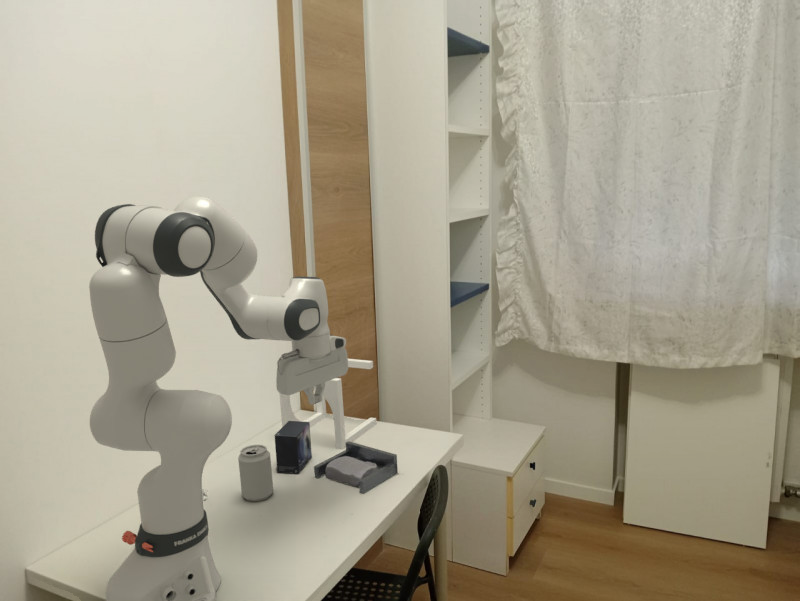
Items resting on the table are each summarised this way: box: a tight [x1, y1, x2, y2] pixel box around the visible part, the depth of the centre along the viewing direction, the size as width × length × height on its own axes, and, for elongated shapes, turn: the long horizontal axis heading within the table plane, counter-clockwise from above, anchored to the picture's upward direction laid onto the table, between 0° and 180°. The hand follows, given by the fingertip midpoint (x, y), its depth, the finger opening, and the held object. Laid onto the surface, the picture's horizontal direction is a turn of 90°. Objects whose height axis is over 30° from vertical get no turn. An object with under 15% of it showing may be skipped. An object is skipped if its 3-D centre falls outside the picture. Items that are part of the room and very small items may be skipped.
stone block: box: [325, 456, 378, 488], centre depth 172 cm, size 12×5×10 cm
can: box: [237, 444, 274, 502], centre depth 163 cm, size 8×8×12 cm
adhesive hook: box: [202, 488, 208, 502], centre depth 164 cm, size 3×3×3 cm
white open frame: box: [278, 358, 377, 450], centre depth 200 cm, size 20×20×20 cm
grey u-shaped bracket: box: [313, 441, 398, 494], centre depth 172 cm, size 13×16×5 cm
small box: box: [274, 421, 313, 475], centre depth 180 cm, size 11×6×10 cm, turn 168°
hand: (315, 402), depth 159 cm, fingers closed
